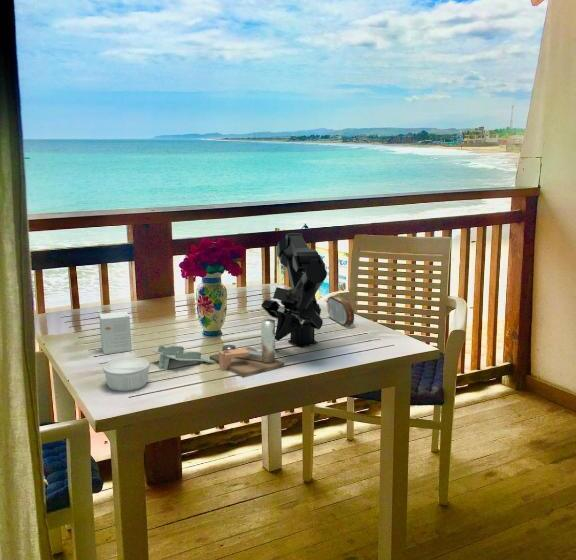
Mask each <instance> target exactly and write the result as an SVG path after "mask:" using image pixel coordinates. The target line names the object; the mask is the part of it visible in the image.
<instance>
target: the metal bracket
mask: <svg viewBox="0 0 576 560" xmlns="http://www.w3.org/2000/svg"><path fill="white" fill-rule="evenodd" d="M151 352H153V353H156V354H159V356H160V357H159V362H158V365H157V367H158V368H160V369H163V370H166V371H168V368H169V362H170V359H172V360H176V361H186V362H187V361H191V362H193V361H195V362H206V363H208V364H212V363H213V364H214V363H215V364H217V363H216V361H213V360H210V358H208V357H207V358H206V357H204V356H202V352H199V351H185V348H184V347H183V346H180V345H179V346H178V345H171V346H166V347H165V346H164V345H159V346H158V349H157V350H151Z"/></svg>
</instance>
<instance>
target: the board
mask: <svg viewBox="0 0 576 560" xmlns="http://www.w3.org/2000/svg"><path fill="white" fill-rule="evenodd" d="M243 348H244V347H243ZM243 348H241V349H243ZM245 348H246V350H250V351H257V352H260V351H258V350H256V349H255V348H252V347H251V346H246V347H245ZM209 359H210V360H213V361H216V363H215V364H218V365H219V366H220V364H219V353H216V354H212V355H209ZM284 367H285V363H284V362H283V361H280V360H278V359H276V358H275V361H274V362H271V363H265V362H262V361H257V360H251V359H245V358H238V357H235V358H231V365H228V369H227V370H229V371H231V372H233V373H234V374H236V375H238V376H240V377H242V378H245V377H250V376H253V375H258V374H261V373H265V372H269V371H272V370H276V369H279V368H280V369H281V368H284Z"/></svg>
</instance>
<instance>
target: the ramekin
mask: <svg viewBox="0 0 576 560" xmlns="http://www.w3.org/2000/svg"><path fill="white" fill-rule="evenodd" d="M150 367H151V366H150V361H149V360H147V359H146V358H141V357H134V356H133V357H132V356H131V357H129V356H127V357H119V358H116V359H113V360H110V361H108V362H105V364H104V365H103V367H102V370H103V373H104V375H105V380H106V384H107V386H108V387H109V388H110V389H111V390H114V391H116V390H118V391H117V392H130V391H135V390H139V389H142V388H143V387H144V386H145V385H146V384H147V383H148V381H149V371H150Z"/></svg>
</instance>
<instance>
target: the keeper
mask: <svg viewBox="0 0 576 560" xmlns="http://www.w3.org/2000/svg"><path fill="white" fill-rule="evenodd" d="M218 354H219V364H220V365H219V364H218V365H219V368H220V369H221V370H222V371H223V370H229V369H228V365H231V358H235V357H244V356H249V352H248V351H247V350H246V347H243V349H242V348H237V349H233V350H224V351H223V350H219V351H218Z"/></svg>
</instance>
